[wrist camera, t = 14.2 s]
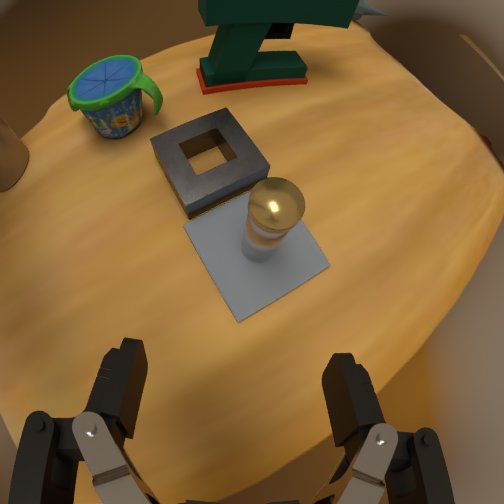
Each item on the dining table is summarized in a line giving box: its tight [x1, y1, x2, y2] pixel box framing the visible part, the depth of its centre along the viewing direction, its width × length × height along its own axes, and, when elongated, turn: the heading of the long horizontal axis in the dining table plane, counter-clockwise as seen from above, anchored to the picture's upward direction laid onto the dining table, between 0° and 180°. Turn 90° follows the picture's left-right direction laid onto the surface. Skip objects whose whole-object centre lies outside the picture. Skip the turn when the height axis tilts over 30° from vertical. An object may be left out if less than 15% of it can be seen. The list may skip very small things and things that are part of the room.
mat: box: [183, 191, 330, 322], centre depth 33 cm, size 13×13×1 cm
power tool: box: [196, 0, 386, 95], centre depth 33 cm, size 32×7×20 cm, turn 106°
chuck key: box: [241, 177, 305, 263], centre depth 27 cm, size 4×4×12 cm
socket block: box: [150, 108, 270, 219], centre depth 34 cm, size 11×11×4 cm
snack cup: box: [67, 55, 163, 138], centre depth 32 cm, size 16×10×10 cm
